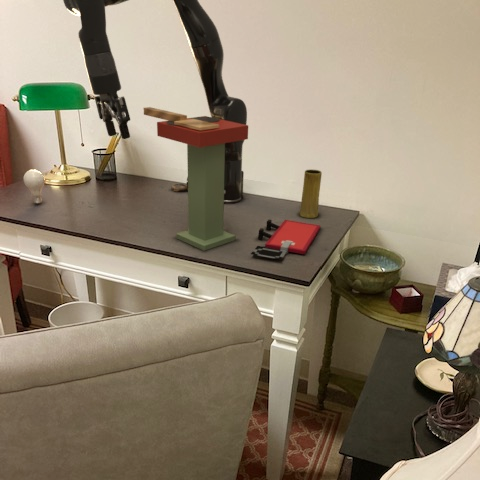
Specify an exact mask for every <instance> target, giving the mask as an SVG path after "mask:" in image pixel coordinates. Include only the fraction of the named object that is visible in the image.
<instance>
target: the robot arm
mask: <svg viewBox="0 0 480 480" xmlns="http://www.w3.org/2000/svg"><path fill="white" fill-rule="evenodd" d="M128 1H129V0H62V2H63V4H64V6H65V8H66V9H67V11H69V13H71V14H72V15H74V16H78V17H80V23H81V28H80V29H79V31H78V33H77V34H78V41H79V44H80V48H81V52H82V55H83V59H84V66H85V69H86V74H87V76H88V81H89V85H90V88H91V91H92V94H93V95H95V96H94V102H95V105H96V109H97V112H98V117H99V120H102V122H103V123H104V126H105V128H106V131H107V135H108V136H109V137H114V136H116V135H117V130H116V126H115V123H114V120H115V121H116V123H117V124H118V125H117V126H118V130H119V133H120V137H121V139H122V140H126V139H130V137H131V134H130V131H129V126H128V123H129V122H130V121H131V116H130V113H129V108H128V106H127V105H128V104H127V102H126V98H125V96H119V95H118V92H119V91H121V90H122V85H121V81H120V76H119V72H118V69H117V68H118V67H117V65H116V61H115V58H114V56H113V52H112V49H111V44H110V40H109V36H108V33H107V16H106V15H107V14H106V7H109V6H117V5H120V4H123V3H125V2H128ZM172 1H173V4H174V6H175V9H176V11H177V14H178V17H179V20H180V23H181V26H182V28H183V31H184V33H185V36H186V40H187V43H188V46H189V50H190V51H191V55H192V57H193V61H194V63H195V64H196V69H197V71H198V75H199V77H200V80H201V83H202V86H203V90H204V94H205V98H206V102H207V106H208V111H209V114H210V117H214V118H218V119H221V120H226V121H230V122H235V123H240V124H244V125H248V124H247V122H248V109H247V106H246V103H245V101H243V99H241V98H238V97H233V96H229V94H228V92H227V89H226V85H225V83H224V79H223V69H224V59H225V57H224V55H225V54H224V47H223V44H222V40H221V38H220V34H219V32H218V29H217V26H216V25H215V23H214V21H213V20H212V18H210V16H209V14H208V13H207V11H206V10H205V9H204V8H203V6H202V5H201V3H200V2H199V0H172ZM244 142H245V140H240V141H234V142H229V143H225V165H224V204H233V203H238V202H240V201H242V199H243V198H244V197H243V196H244V170H243V147H244V144H245V143H244Z"/></svg>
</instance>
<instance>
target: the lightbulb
mask: <svg viewBox="0 0 480 480" xmlns="http://www.w3.org/2000/svg"><path fill="white" fill-rule="evenodd" d="M22 179H23V183H24V186H25V187H26V188H27V189H28V190H29V191H30V194H31V196H32V202H33V203H34V204H36V205H40V204H41V203H42V202H43V200H42V190H43V188H44V185H45V180H46V179H45V176H44V174H43V173H42V172H41V171H39V170H37V169H29V170H27V171H26V172H25V173H24V175H23V177H22Z"/></svg>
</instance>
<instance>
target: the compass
mask: <svg viewBox="0 0 480 480" xmlns="http://www.w3.org/2000/svg"><path fill="white" fill-rule="evenodd" d="M171 190H172V191H173V192H179V193H181V192H183V193H184V192H186V191H187V192H188V176H187V177H186V184H185V183H176V184H173V185H172V186H171Z"/></svg>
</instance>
